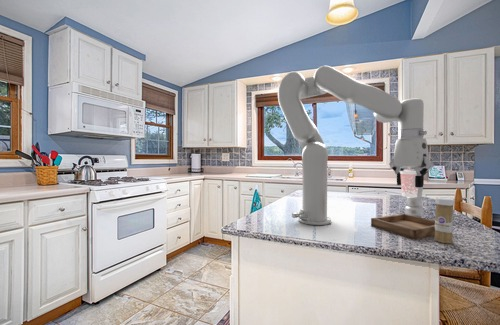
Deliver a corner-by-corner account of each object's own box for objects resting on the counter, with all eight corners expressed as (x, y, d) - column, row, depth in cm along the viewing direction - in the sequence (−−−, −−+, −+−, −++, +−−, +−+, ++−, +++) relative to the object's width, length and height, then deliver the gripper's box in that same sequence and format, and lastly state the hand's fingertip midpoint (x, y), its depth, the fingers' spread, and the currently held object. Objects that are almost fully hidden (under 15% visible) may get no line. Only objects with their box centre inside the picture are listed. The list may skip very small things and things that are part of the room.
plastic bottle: (426, 220, 103) (427, 171, 102) (407, 219, 104) (409, 170, 103) (419, 216, 109) (420, 170, 108) (401, 215, 110) (402, 169, 110)
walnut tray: (413, 239, 79) (413, 230, 79) (371, 226, 94) (371, 218, 94) (448, 232, 86) (448, 223, 86) (403, 221, 101) (403, 213, 101)
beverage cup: (420, 198, 86) (420, 157, 85) (399, 197, 89) (399, 157, 88) (419, 195, 91) (419, 156, 90) (399, 194, 94) (400, 156, 93)
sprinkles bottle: (433, 241, 78) (434, 198, 77) (434, 237, 81) (436, 196, 81) (452, 245, 75) (454, 199, 74) (453, 241, 78) (454, 197, 78)
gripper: (443, 133, 83) (442, 188, 83) (395, 137, 98) (394, 183, 99) (429, 132, 80) (428, 189, 80) (381, 136, 95) (380, 184, 96)
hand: (409, 185), depth 90 cm, fingers closed on beverage cup, 6 cm apart
